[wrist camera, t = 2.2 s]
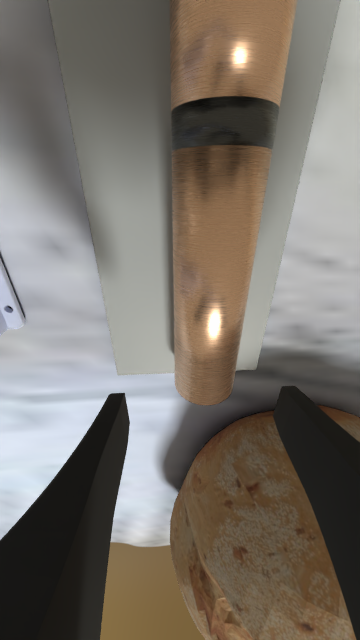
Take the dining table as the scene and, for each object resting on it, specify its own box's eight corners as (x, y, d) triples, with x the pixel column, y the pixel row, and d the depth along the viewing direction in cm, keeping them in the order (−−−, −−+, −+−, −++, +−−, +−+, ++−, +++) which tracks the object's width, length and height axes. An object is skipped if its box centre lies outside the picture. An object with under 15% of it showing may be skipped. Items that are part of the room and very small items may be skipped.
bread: (284, 520, 37) (349, 702, 24) (143, 507, 31) (129, 732, 18) (422, 419, 25) (709, 677, 12) (231, 369, 19) (370, 745, 6)
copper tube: (210, 356, 18) (245, 390, 15) (165, 373, 17) (194, 415, 14) (241, 2, 9) (345, -89, 6) (147, -40, 7) (226, -196, 4)
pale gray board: (253, 364, 19) (256, 369, 18) (119, 369, 18) (117, 375, 18) (521, -868, 4) (572, -1018, 4) (-134, -1036, 4) (-185, -1242, 3)
